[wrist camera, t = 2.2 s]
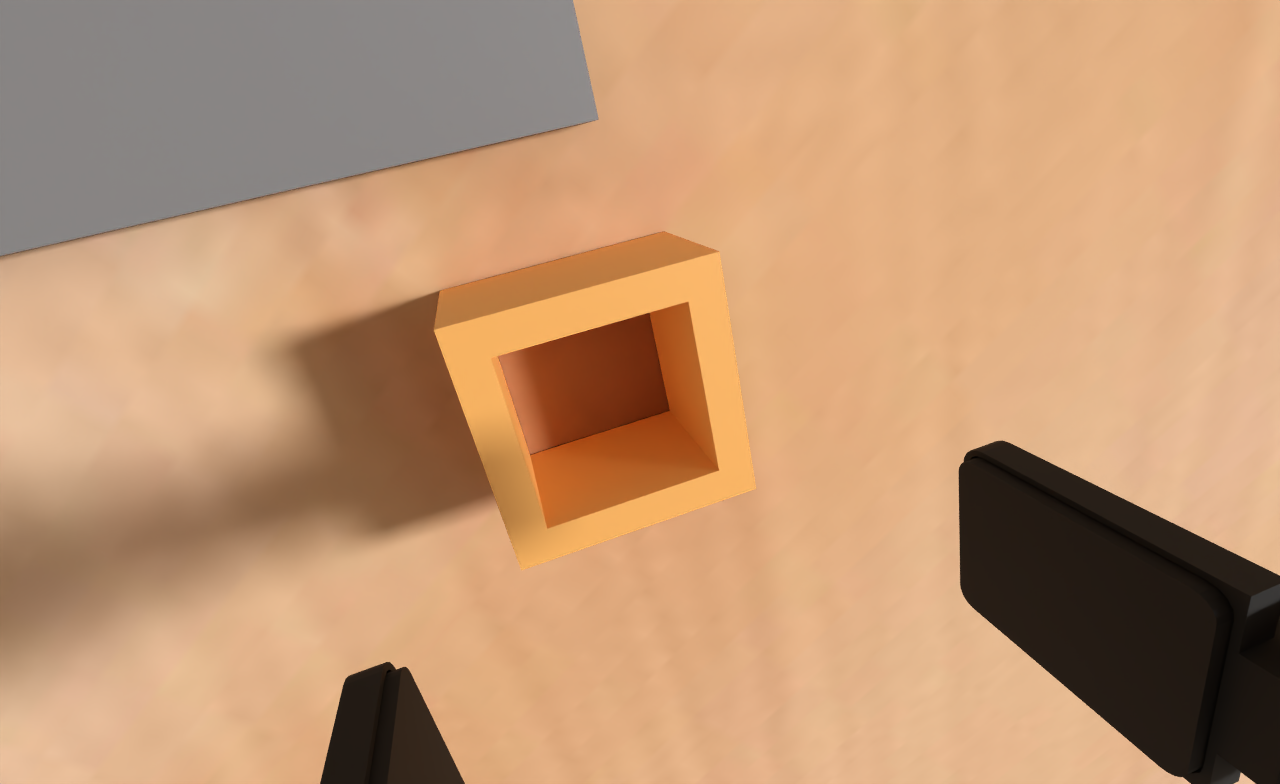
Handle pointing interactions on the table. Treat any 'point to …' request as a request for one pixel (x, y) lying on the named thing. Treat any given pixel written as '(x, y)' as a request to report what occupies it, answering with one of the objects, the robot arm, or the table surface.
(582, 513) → the orange open box
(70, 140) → the plate
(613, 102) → the table surface
